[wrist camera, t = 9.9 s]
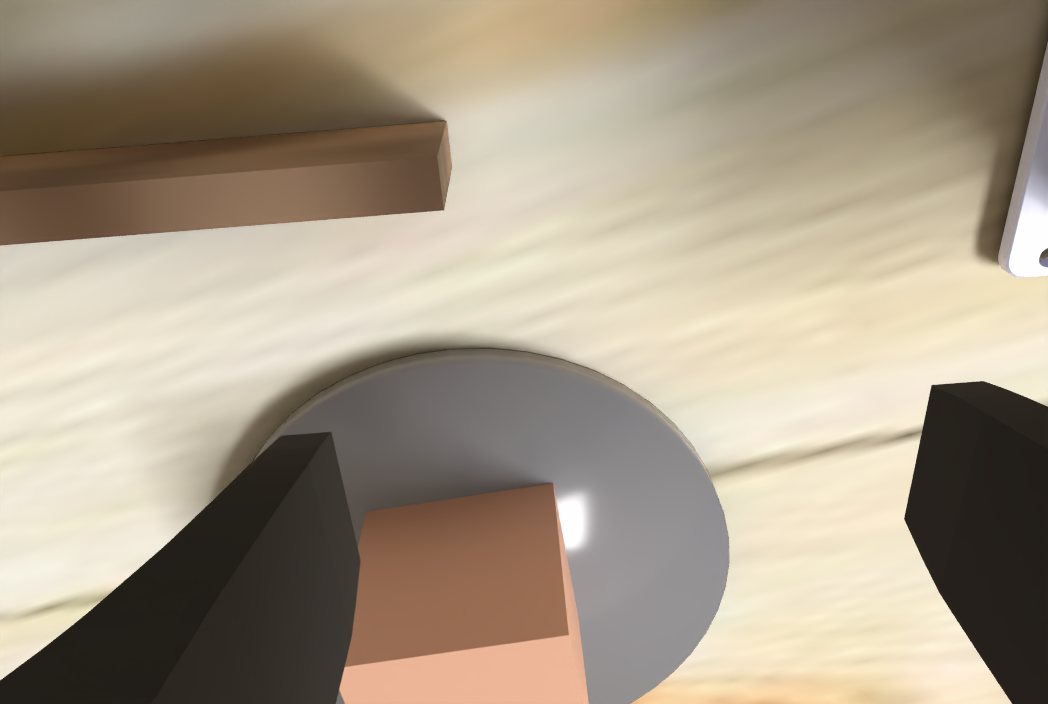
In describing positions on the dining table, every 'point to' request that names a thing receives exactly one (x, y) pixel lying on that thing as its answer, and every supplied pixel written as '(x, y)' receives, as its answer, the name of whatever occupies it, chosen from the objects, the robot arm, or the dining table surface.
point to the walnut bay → (224, 183)
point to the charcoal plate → (543, 458)
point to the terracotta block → (466, 605)
